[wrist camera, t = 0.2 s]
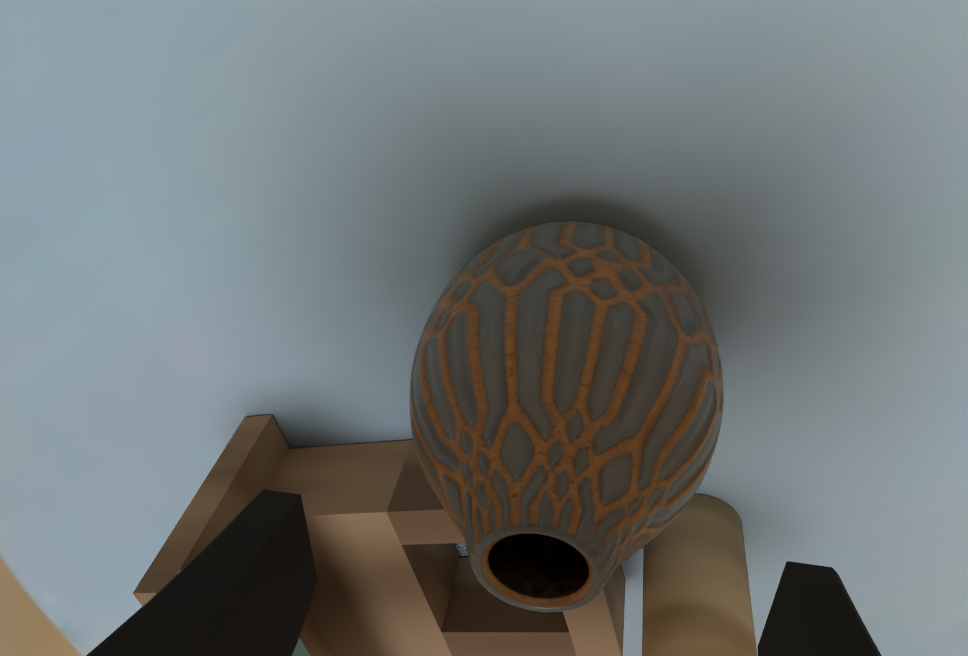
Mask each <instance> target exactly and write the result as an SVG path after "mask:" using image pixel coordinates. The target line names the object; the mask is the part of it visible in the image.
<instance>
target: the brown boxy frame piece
mask: <svg viewBox="0 0 968 656" xmlns="http://www.w3.org/2000/svg"><path fill="white" fill-rule="evenodd" d="M262 490H272V491H279V492H286V493H293V494H301V498H302V503H303V508H304V513H305V518H306V523H307V528H308V534H309V539H310V544H311V549H312V554H313V559H314V564H315V569H316V574H317V582H316V586H315V589H314V592H313V595H312V599H311V602H310V605H309V609H308V612H307V615H306V618H305V621H304V624H303V627H302V630H301V633H300V636H299V639H298V642H297V645H296V647H295V649H294V652H293V654H292V656H623V630H624V602H625V577H624V573H623V568H622V564H621V563H620V564H619V565H618V567H617V568H616V569H615V571H614V572H613V574H612V576H611V577H610V579H609V581H608V582H607V584H606V585H605V587H604V588H603V590H602V591H601V592H600V594H599V595H598V596H597V597H596V598H595V599H593V600H592V601H591V602H589V603H588V604H586V605H584V606H581V607H579V608H576V609H573V610H568V611H562V612H538V611H531V610H527V609H523V608H519V607H516V606H514V605H511V604H509V603H507V602H505V601H503V600H501V599H499V598H497V597H496V596H494V595H493V594H492V593H490V592H489V591H488V590H487V589H486V588H485V587H484V586H483V585H482V584H481V583H480V582H479V580H478V579H477V577H476V576H475V574H474V572H473V569H472V566H471V563H470V559H469V557H460V556H459V554H458V551H457V549H456V546H455V544H454V543H465V540H464V538H463V535H462V533H461V532H460V530H459V529H458V527H457V526H456V525H455V523H454V522H453V521H452V519H451V518H450V516H449V515H448V513H447V512H446V510H445V509H444V508H443V506H442V505H441V503H440V502H439V500H438V498H437V497H436V495H435V493H434V492H433V490H432V488H431V487H430V485H429V483H428V481H427V479H426V477H425V475H424V472H423V470H422V468H421V465H420V463H419V460H418V456H417V453H416V449H415V445H414V440H403V441H390V442H376V443H363V444H349V445H335V446H322V447H308V448H295V449H289V447H288V445H287V443H286V441H285V439H284V437H283V435H282V433H281V431H280V429H279V428H278V426H277V424H276V422H275V420H274V418H273V416H272V415H262V416H251V417H245V418H244V419H243V421H242V422H241V424H240V425H239V427H238V429H237V430H236V432H235V433H234V435H233V437H232V438H231V440H230V441H229V443H228V444H227V446H226V448H225V449H224V451H223V452H222V454H221V455H220V457H219V459H218V460H217V462H216V463H215V465H214V466H213V468H212V470H211V471H210V473H209V474H208V476H207V477H206V479H205V481H204V482H203V484H202V485H201V487H200V488H199V490H198V492H197V493H196V495H195V496H194V498H193V499H192V501H191V503H190V504H189V506H188V507H187V509H186V510H185V512H184V514H183V515H182V517H181V518H180V520H179V521H178V523H177V525H176V526H175V528H174V529H173V531H172V533H171V534H170V536H169V537H168V539H167V540H166V542H165V544H164V545H163V547H162V548H161V550H160V551H159V553H158V555H157V556H156V558H155V559H154V561H153V562H152V564H151V566H150V567H149V569H148V570H147V572H146V573H145V575H144V577H143V578H142V580H141V581H140V583H139V584H138V586H137V588H136V589H135V591H134V592H133V594H134V595H135V597H136V598H137V599H138V601H139V602H140V603H141V605H142V606H144V605H145V604H146V603H147V602H148V601H149V600H150V599H151V598H153V597H154V596H155V595H156V594H157V593H158V592H159V591H160V590H161V589H162V588H163V587H164V586H165V585H166V584H167V583H168V582H169V581H170V580H172V579H173V578H174V577H175V576H176V575H177V574H178V573H179V572H180V571H181V570H182V569H183V568H184V567H185V566H186V565H187V564H188V563H189V562H190V561H191V560H193V559H194V558H195V557H196V556H197V555H198V554H199V553H200V552H201V551H202V550H203V549H204V548H205V547H206V546H207V545H208V544H209V543H210V542H211V541H212V540H213V539H214V538H215V537H216V536H217V535H218V534H219V533H220V532H221V531H222V530H223V529H224V528H225V527H226V526H227V525H228V524H229V523H230V522H231V521H232V520H233V519H234V518H235V517H236V516H237V515H238V514H239V513H240V511H241V510H242V509H243V508H244V507H245V506H246V505H247V504H248V503H249V502H250V501H251V500H252V499H253V498H254V497H255V496H256V495H257V494H258V493H260V492H261V491H262Z"/></svg>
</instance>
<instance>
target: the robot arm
mask: <svg viewBox="0 0 968 656" xmlns="http://www.w3.org/2000/svg"><path fill="white" fill-rule="evenodd" d="M316 582H317V574H316V569H315V564H314V559H313V554H312V549H311V544H310V539H309V534H308V528H307V523H306V518H305V513H304V508H303V503H302V498H301V494H293V493H286V492H279V491H272V490H262V491H261V492H260V493H258V494H257V495H256V496H255V497H254V498H253V499H252V500H251V501H250V502H249V503H248V504H247V505H246V506H245V507H244V508H243V509H242V510H241V511H240V513H239V514H238V515H237V516H236V517H235V518H234V519H233V520H232V521H231V522H230V523H229V524H228V525H227V526H226V527H225V528H224V529H223V530H222V531H221V532H220V533H219V534H218V535H217V536H216V537H215V538H214V539H213V540H212V541H211V542H210V543H209V544H208V545H207V546H206V547H205V548H204V549H203V550H202V551H201V552H200V553H199V554H198V555H197V556H196V557H195V558H194V559H193V560H191V561H190V562H189V563H188V564H187V565H186V566H185V567H184V568H183V569H182V570H181V571H180V572H179V573H178V574H177V575H176V576H175V577H174V578H173V579H172V580H170V581H169V582H168V583H167V584H166V585H165V586H164V587H163V588H162V589H161V590H160V591H159V592H158V593H157V594H156V595H155V596H154V597H153V598H151V599H150V600H149V601H148V602H147V603H146V604H145V605H144V606H143V607H142V608H140V609H139V610H138V611H137V612H136V613H135V614H134V615H132V616H131V617H130V618H129V619H128V620H127V621H126V622H124V623H123V624H122V625H121V626H120V627H119V628H118V629H116V630H115V631H114V632H113V633H112V634H111V635H110V636H108V637H107V638H106V639H105V640H104V641H103V642H102V643H100V644H99V645H98V646H97V647H96V648H95V649H93V650H92V651H91V652H90V653H89V654H88V655H86V656H292V654H293V652H294V649H295V647H296V645H297V642H298V639H299V636H300V633H301V630H302V627H303V624H304V621H305V618H306V615H307V612H308V609H309V605H310V602H311V599H312V595H313V592H314V589H315V586H316ZM758 656H881V654H880V652H879V651H878V649H877V647H876V645H875V643H874V642H873V640H872V638H871V636H870V634H869V632H868V631H867V629H866V627H865V625H864V623H863V621H862V620H861V618H860V616H859V614H858V612H857V610H856V608H855V606H854V604H853V602H852V600H851V599H850V597H849V595H848V593H847V591H846V589H845V587H844V585H843V583H842V581H841V579H840V577H839V575H838V573H837V572H836V571H835V570H834V569H833V568H832V567H825V566H817V565H810V564H803V563H796V562H788V561H787V562H786V565H785V568H784V571H783V574H782V577H781V580H780V583H779V586H778V589H777V592H776V594H775V597H774V600H773V603H772V606H771V609H770V612H769V615H768V618H767V621H766V624H765V627H764V630H763V633H762V636H761V639H760V642H759V645H758Z"/></svg>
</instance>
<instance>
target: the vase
mask: <svg viewBox="0 0 968 656" xmlns="http://www.w3.org/2000/svg"><path fill="white" fill-rule="evenodd" d="M723 404H724V389H723V374H722V366H721V360H720V354H719V349H718V345H717V341H716V337H715V334H714V330H713V327H712V324H711V321H710V319H709V317H708V314H707V312H706V310H705V309H704V307H703V305H702V303H701V301H700V299H699V297H698V296H697V294H696V292H695V291H694V289H693V288H692V286H691V285H690V284H689V282H688V281H687V280H686V279H685V277H684V276H683V275H682V274H681V273H680V271H679V270H678V269H677V268H676V267H675V266H674V265H673V264H672V263H671V262H670V261H669V260H668V259H667V258H666V257H665V256H663V255H662V254H661V253H659V252H658V251H657V250H656V249H654V248H653V247H651V246H650V245H648V244H647V243H645V242H643V241H642V240H640V239H638V238H636V237H635V236H633V235H630V234H628V233H626V232H624V231H621V230H618V229H616V228H612V227H609V226H605V225H601V224H596V223H589V222H579V221H562V222H551V223H545V224H540V225H536V226H532V227H529V228H526V229H523V230H520V231H518V232H515V233H512V234H510V235H508V236H506V237H504V238H502V239H500V240H498V241H496V242H495V243H493V244H492V245H490V246H489V247H487V248H486V249H485V250H483V251H482V252H480V253H479V254H478V255H476V256H475V257H474V258H473V259H471V260H470V261H469V262H468V263H467V264H466V265H465V266H464V267H463V268H462V269H461V270H460V271H459V272H458V273H457V274H456V276H455V277H454V278H453V279H452V280H451V281H450V282H449V284H448V285H447V287H446V288H445V290H444V291H443V293H442V294H441V296H440V298H439V299H438V301H437V303H436V304H435V306H434V308H433V310H432V312H431V314H430V316H429V318H428V320H427V322H426V325H425V327H424V329H423V331H422V334H421V337H420V340H419V343H418V346H417V349H416V352H415V357H414V361H413V367H412V373H411V381H410V418H411V427H412V435H413V440H414V445H415V449H416V453H417V456H418V460H419V463H420V465H421V468H422V470H423V472H424V475H425V477H426V479H427V481H428V483H429V485H430V487H431V488H432V490H433V492H434V493H435V495H436V497H437V498H438V500H439V502H440V503H441V505H442V506H443V508H444V509H445V510H446V512H447V513H448V515H449V516H450V518H451V519H452V521H453V522H454V523H455V525H456V526H457V527H458V529H459V530H460V532H461V533H462V535H463V538H464V540H465V543H466V547H467V551H468V555H469V559H470V563H471V566H472V569H473V572H474V574H475V576H476V577H477V579H478V580H479V582H480V583H481V584H482V585H483V586H484V587H485V588H486V589H487V590H488V591H489V592H490V593H492V594H493V595H494V596H496V597H497V598H499V599H501V600H503V601H505V602H507V603H509V604H511V605H514V606H516V607H519V608H523V609H527V610H531V611H538V612H562V611H568V610H573V609H576V608H579V607H581V606H584V605H586V604H588V603H589V602H591V601H592V600H593V599H595V598H596V597H597V596H598V595H599V594H600V592H601V591H602V590H603V588H604V587H605V585H606V584H607V582H608V581H609V579H610V577H611V576H612V574H613V572H614V571H615V569H616V568H617V567H618V565H619V564H620V563H621V562H622V561H624V560H625V559H626V558H628V557H629V556H631V555H632V554H634V553H635V552H636V551H638V550H639V549H641V548H642V547H643V546H645V545H646V544H647V543H649V542H650V541H651V540H652V539H654V538H655V537H656V536H658V535H659V534H660V533H661V532H662V531H664V530H665V529H666V528H667V527H668V526H669V525H670V524H671V523H672V522H673V521H674V520H675V519H676V518H677V517H678V516H679V515H680V514H681V512H682V511H683V510H684V509H685V508H686V506H687V505H688V504H689V502H690V501H691V499H692V498H693V496H694V495H695V493H696V491H697V490H698V488H699V486H700V484H701V482H702V480H703V478H704V476H705V474H706V471H707V469H708V467H709V464H710V462H711V459H712V456H713V453H714V450H715V447H716V443H717V440H718V436H719V431H720V427H721V421H722V412H723Z"/></svg>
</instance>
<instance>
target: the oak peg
mask: <svg viewBox="0 0 968 656" xmlns="http://www.w3.org/2000/svg"><path fill="white" fill-rule="evenodd" d="M642 656H757V649H756V641H755V632H754V624H753V615H752V607H751V598H750V589H749V581H748V572H747V564H746V555H745V546H744V538H743V529H742V523H741V520H740V517H739V516H738V514H737V513H736V511H735V510H734V509H733V508H732V507H730V506H729V505H728V504H726V503H725V502H723V501H721V500H719V499H716V498H714V497H710V496H707V495H701V494H695V495H694V496H693V498H692V499H691V501H690V502H689V504H688V505H687V506H686V508H685V509H684V510H683V511H682V512H681V514H680V515H679V516H678V517H677V518H676V519H675V520H674V521H673V522H672V523H671V524H670V525H669V526H668V527H667V528H666V529H665V530H664V531H662V532H661V533H660V534H659V535H658V536H656V537H655V538H654V539H652V540H651V541H650V542H649V543H647V544H646V545H645V546H644V560H643V633H642Z"/></svg>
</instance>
